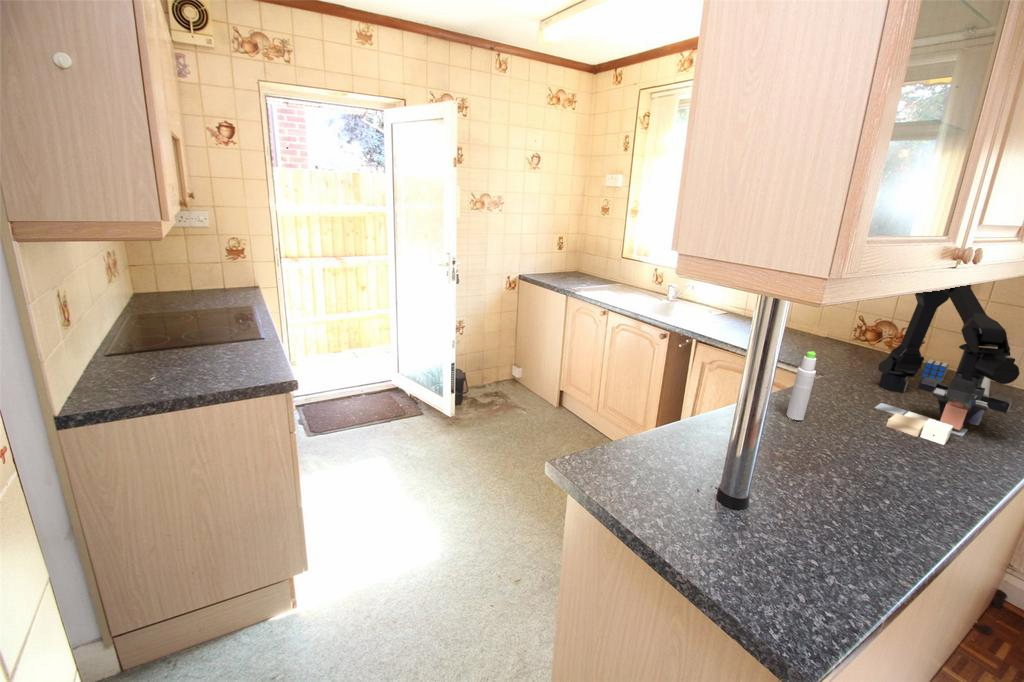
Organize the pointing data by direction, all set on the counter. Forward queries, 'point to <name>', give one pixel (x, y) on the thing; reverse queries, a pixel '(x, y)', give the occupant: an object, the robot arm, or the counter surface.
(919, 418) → the board
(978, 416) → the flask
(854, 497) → the counter surface
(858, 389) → the counter surface
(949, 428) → the die
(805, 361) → the bottle
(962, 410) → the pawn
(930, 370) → the puzzle toy
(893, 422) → the block
